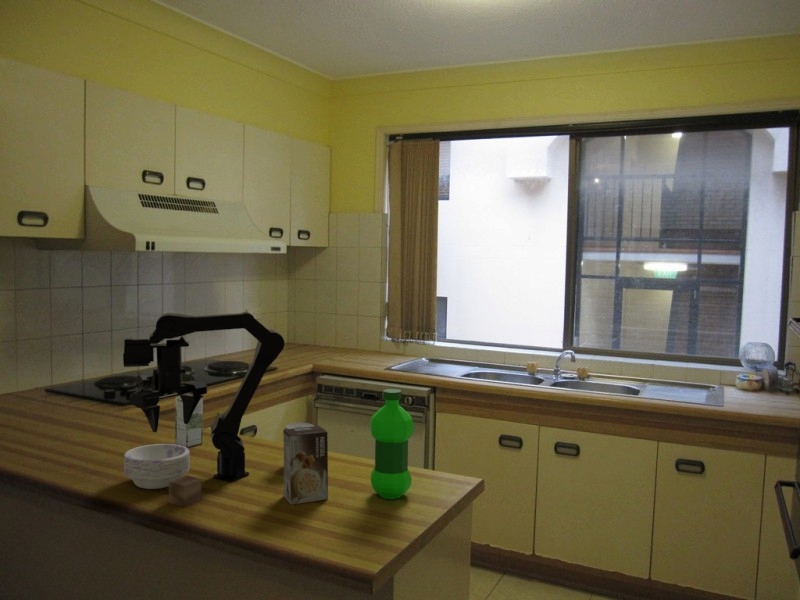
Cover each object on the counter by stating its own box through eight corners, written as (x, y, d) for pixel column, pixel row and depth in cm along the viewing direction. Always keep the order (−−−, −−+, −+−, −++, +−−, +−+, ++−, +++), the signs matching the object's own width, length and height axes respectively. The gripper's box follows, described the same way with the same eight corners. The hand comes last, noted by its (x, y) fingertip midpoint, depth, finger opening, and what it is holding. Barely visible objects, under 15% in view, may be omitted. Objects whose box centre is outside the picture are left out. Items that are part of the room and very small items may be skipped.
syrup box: (192, 440, 198) (191, 392, 197) (203, 444, 194) (203, 395, 193) (174, 444, 193) (174, 395, 192) (186, 448, 190) (186, 399, 188)
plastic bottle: (362, 490, 158) (363, 388, 156) (402, 485, 162) (403, 385, 161) (378, 505, 149) (379, 396, 147) (419, 499, 153) (421, 393, 151)
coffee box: (320, 490, 158) (321, 425, 157) (328, 500, 152) (329, 431, 151) (282, 495, 154) (283, 428, 153) (289, 505, 148) (289, 435, 147)
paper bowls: (200, 474, 168) (199, 443, 167) (172, 496, 153) (171, 462, 152) (144, 471, 170) (143, 440, 169) (111, 492, 155) (110, 459, 154)
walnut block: (201, 500, 151) (201, 479, 150) (184, 507, 146) (184, 485, 146) (185, 496, 153) (185, 475, 153) (168, 503, 149) (168, 481, 148)
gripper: (179, 357, 172) (180, 415, 173) (114, 367, 157) (116, 431, 158) (208, 361, 166) (209, 421, 167) (144, 372, 151) (145, 439, 152)
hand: (170, 427), depth 161 cm, fingers open, 9 cm apart
